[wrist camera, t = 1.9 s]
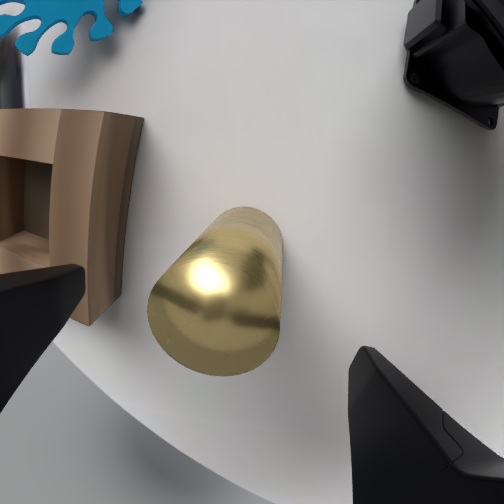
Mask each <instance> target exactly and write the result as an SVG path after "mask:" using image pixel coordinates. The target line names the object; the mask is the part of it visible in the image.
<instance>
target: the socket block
mask: <svg viewBox="0 0 504 504" xmlns="http://www.w3.org/2000/svg"><path fill="white" fill-rule="evenodd" d="M143 119H144V118H142V117H136V116H130V115H124V114H118V113H112V112H105V111H92V110H75V109H0V274H4V273H11V272H18V271H25V270H31V269H38V268H45V267H52V266H59V265H66V264H77V265H80V266H82V267H84V269H85V281H86V291H85V294H84V297H83V298H82V300H81V301H80V303H79V304H78V305H77V307H76V308H75V310H74V311H73V313H72V314H71V316H70V318H71V319H73V320H75V321H78V322H80V323H82V324H84V325H87V326H90V325H91V324H92V323H93V322H94V321H95V320H96V319H97V318H98V317H99V316H100V315H101V314H102V313H103V312H104V311H105V310H106V309H107V308H108V307H109V306H110V305H111V304H112V303H113V302H114V301H115V300H116V299H117V298H118V297H119V296H120V295H121V284H122V266H123V253H124V241H125V231H126V221H127V213H128V205H129V197H130V190H131V184H132V177H133V171H134V165H135V159H136V154H137V148H138V143H139V138H140V133H141V129H142V124H143Z"/></svg>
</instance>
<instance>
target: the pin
mask: <svg viewBox="0 0 504 504" xmlns="http://www.w3.org/2000/svg"><path fill="white" fill-rule="evenodd" d="M281 280H282V236H281V233H280V230H279V228H278V226H277V224H276V223H275V222H274V220H273V219H272V218H271V217H270V216H268V215H267V214H266V213H264V212H262V211H260V210H258V209H255V208H251V207H237V208H233V209H230V210H228V211H226V212H224V213H223V214H221V215H220V216H219V217H218V218H217V219H216V220H215V221H214V222H213V223H212V224H211V225H210V226H209V227H208V228H207V229H206V230H205V231H204V232H203V233H202V234H201V235H200V236H199V237H198V238H197V239H196V240H195V241H194V243H193V244H192V245H191V246H190V247H189V248H188V249H187V250H186V251H185V252H184V253H183V254H182V255H181V256H180V257H179V258H178V259H177V261H176V262H175V263H174V264H173V265H172V266H171V267H170V268H169V269H168V270H167V271H166V272H165V273H164V274H163V276H162V277H161V278H160V279H159V280H158V281H157V283H156V284H155V285H154V287H153V289H152V291H151V293H150V296H149V300H148V307H147V314H148V321H149V324H150V328H151V330H152V333H153V335H154V337H155V338H156V340H157V342H158V343H159V345H160V346H161V347H162V348H163V350H164V351H165V352H166V353H167V354H168V355H169V356H171V357H172V358H173V359H174V360H176V361H177V362H178V363H180V364H182V365H183V366H185V367H187V368H189V369H191V370H194V371H196V372H199V373H203V374H207V375H213V376H233V375H239V374H242V373H246V372H248V371H250V370H253V369H254V368H256V367H258V366H259V365H261V364H262V363H263V362H264V361H265V360H266V359H267V358H268V357H269V356H270V355H271V353H272V352H273V350H274V348H275V346H276V344H277V341H278V338H279V330H280V309H281Z"/></svg>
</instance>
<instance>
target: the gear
mask: <svg viewBox="0 0 504 504" xmlns="http://www.w3.org/2000/svg"><path fill="white" fill-rule="evenodd" d="M9 2H17V3H21V4H24V5H25V9H24V10H23V12H22V13H20V14H19V15H17V16H10V15H6V14H3V15H0V38H3V37H5V36H6V35H7V34H8V33H9V32H10V31H11V30H12V29H13V28H14V27H16V26H17V25H19V24H20V23H22V22H25V21H28V20H32V19H39V20H41V25H40V27H39V28H38V29H37V30H35V31H33V32H29V33H25V34H23V35H21V36H20V37H19V38H18V39H17V41H16V43H15V45H16V47H17V48H18V50H19V51H20V52H22V53H23V54H25V55H27V56H28V55H30V54H31V53H33V51H34V50H35V48H36V46H37V43H38V41H39V39H40V38H41V36H42V35H43V34H44V33H45V32H46V31H47V30H48V29H49V28H51V27H52V26H53V25H55V24H57V23H59V22H63V23H65V24H66V25H67V30H66V32H64V33H63V34H62V35H60V36H59V37H58V38H56V39H55V40H54V42H53V44H52V53H54V54H58V55H69V54H70V52H71V51H72V49H73V46H74V40H73V31H74V28H75V26H76V24H77V22H78V21H79V19H80V18H81V17H82V16H83V15H85V14H92V15H94V17H95V24H94V25H93V27H92V28H91V30H90V32H89V38H90V40H91V41H97V40H101V39H103V38H106V37H108V36H110V35H111V34H112V32H113V26H112V24H111V23H110V22H109V21H108V20H107V19H106V17H105V14H104V10H103V6H104V0H0V5H2V4H5V3H9ZM141 4H142V0H118V12H119V14H120V15H122V16H124V17H125V16H127V15H129V14H131V13H132V12H133V11H134V10H135V9H136V8H138V7H139V6H140V5H141Z"/></svg>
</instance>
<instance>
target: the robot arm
mask: <svg viewBox="0 0 504 504" xmlns="http://www.w3.org/2000/svg"><path fill="white" fill-rule="evenodd" d="M404 46H405V48H406V50H408V52H407V58H406V64H405V70H404V75H403V79H404V82H405V83H406V85H407V86H409V87H410V88H413V89H415V90H417V91H419V92H421V93H423V94H425V95H427V96H429V97H431V98H433V99H435V100H437V101H439V102H441V103H443V104H445V105H446V106H448V107H450V108H452V109H454V110H455V111H457V112H459V113H461V114H462V115H464V116H466V117H467V118H469V119H471V120H472V121H474V122H476V123H477V124H479V125H480V126H482V127H484V128H485V129H487V130H493V129H495V128H496V124H497V117H498V110H499V107H501V106H504V0H415V1H414V7H413V8H412V9H411V10H410V11H409V13H408V19H407V26H406V33H405V40H404ZM410 75H412V76H414V77H415V79H416V82H413V81H412V80H411V78H410ZM488 119H489V120H490V125H489V123H488ZM85 291H86V281H85V269H84V267H82V266H80V265H77V264H66V265H59V266H52V267H45V268H38V269H31V270H25V271H18V272H11V273H4V274H0V413H1V411H2V410H3V408H4V407H5V405H6V404H7V402H8V401H9V399H10V398H11V396H12V395H13V393H14V392H15V391H16V389H17V388H18V386H19V385H20V383H21V382H22V381H23V379H24V378H25V376H26V375H27V374H28V372H29V371H30V369H31V368H32V367H33V366H34V364H35V363H36V362H37V360H38V359H39V357H40V356H41V355H42V354H43V352H44V351H45V350H46V348H47V347H48V346H49V345H50V343H51V342H52V341H53V339H54V338H55V337H56V336H57V334H58V333H59V332H60V331H61V329H62V328H63V327H64V325H65V324H66V322H67V321H68V319H69V318H70V316H71V314H72V313H73V311H74V310H75V308H76V307H77V305H78V304H79V303H80V301H81V300H82V298H83V297H84V294H85ZM348 420H349V432H350V446H351V463H352V486H353V504H504V458H502V457H500V456H499V455H497V454H496V453H495V452H493V451H492V450H491V449H490V448H488V447H487V446H486V445H484V444H483V443H482V442H481V441H479V440H478V439H477V438H475V437H474V436H473V435H472V434H470V433H469V432H468V431H467V430H466V429H464V428H463V427H462V426H461V425H460V424H458V423H457V422H456V421H455V420H454V419H453V418H452V417H450V416H449V415H448V414H447V413H446V412H445V411H443V409H442V408H441V407H439V406H438V405H437V404H436V403H435V402H434V401H433V400H432V399H431V398H429V397H428V396H427V395H426V394H425V393H424V392H423V391H422V390H421V389H420V388H418V387H417V386H416V385H415V384H414V383H413V382H412V381H411V380H410V379H408V378H407V377H406V376H405V375H404V374H403V373H402V372H401V371H400V370H398V369H397V368H396V367H395V366H394V365H393V364H392V363H391V362H389V361H388V360H387V359H386V358H385V357H384V356H383V355H382V354H381V353H379V352H378V351H377V350H376V349H375V348H373V347H368V346H362V347H360V349H359V350H358V352H357V354H356V356H355V358H354V360H353V361H352V363H351V365H350V368H349V382H348Z"/></svg>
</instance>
